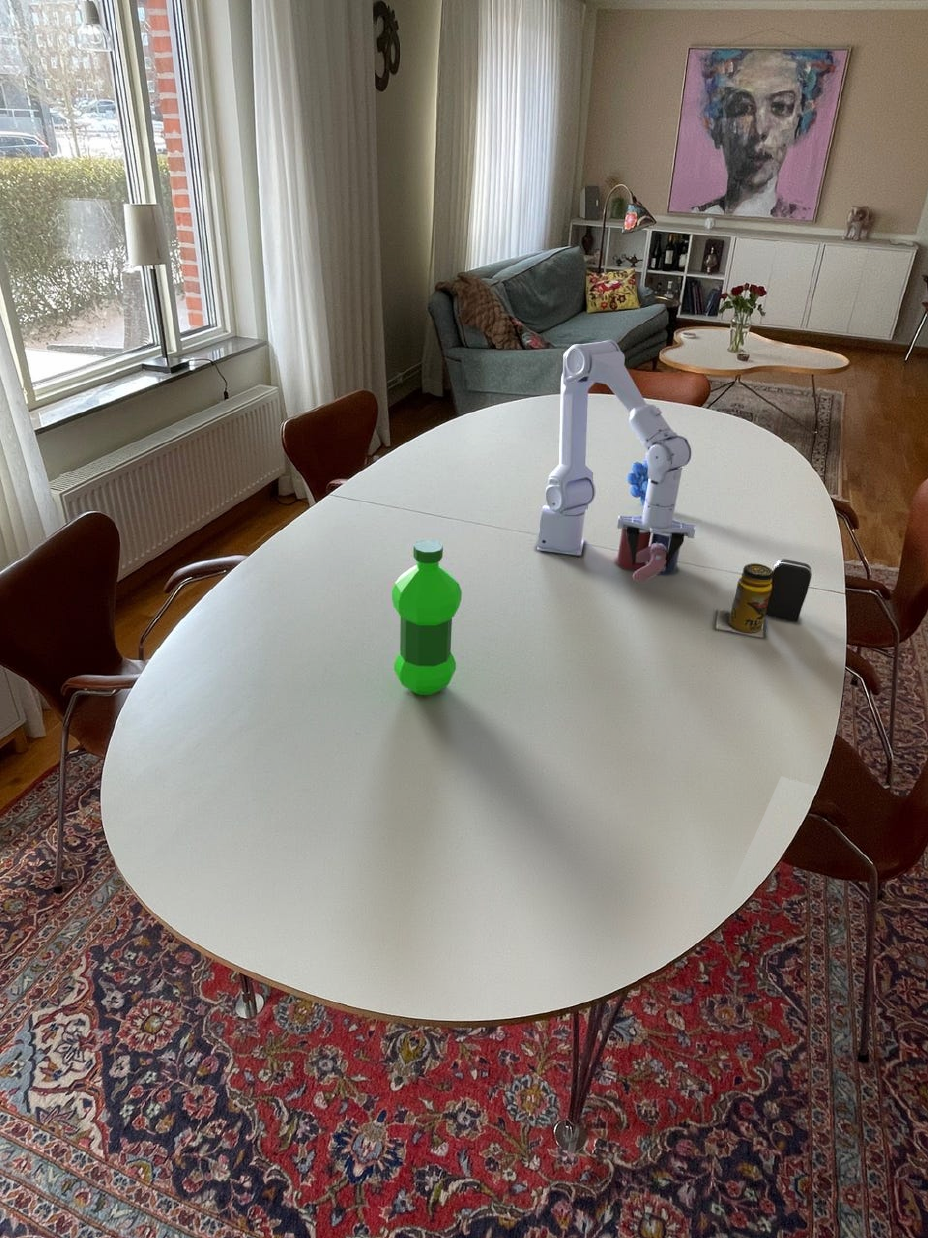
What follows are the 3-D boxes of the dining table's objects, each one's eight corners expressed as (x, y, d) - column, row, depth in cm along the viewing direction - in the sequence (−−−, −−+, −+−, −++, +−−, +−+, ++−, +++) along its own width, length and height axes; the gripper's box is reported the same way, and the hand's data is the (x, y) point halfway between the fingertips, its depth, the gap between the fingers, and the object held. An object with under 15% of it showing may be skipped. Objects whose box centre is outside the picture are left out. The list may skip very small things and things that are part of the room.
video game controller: (650, 591, 161) (672, 564, 158) (630, 579, 161) (652, 551, 157) (650, 568, 170) (671, 543, 166) (632, 557, 169) (652, 531, 166)
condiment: (762, 638, 153) (778, 580, 147) (715, 629, 155) (729, 572, 149) (763, 619, 159) (777, 563, 153) (717, 611, 161) (730, 555, 155)
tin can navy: (646, 572, 174) (653, 534, 170) (647, 559, 179) (654, 522, 175) (675, 576, 173) (683, 537, 169) (675, 563, 178) (683, 526, 174)
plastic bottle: (434, 712, 129) (439, 568, 116) (379, 689, 133) (378, 548, 121) (468, 682, 136) (476, 543, 124) (415, 661, 141) (418, 525, 128)
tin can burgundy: (616, 567, 175) (621, 530, 171) (617, 555, 180) (623, 518, 176) (644, 571, 174) (651, 533, 170) (645, 559, 179) (652, 522, 175)
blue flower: (619, 507, 204) (626, 461, 198) (625, 498, 210) (632, 452, 203) (666, 516, 201) (675, 469, 194) (671, 507, 206) (680, 460, 200)
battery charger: (799, 615, 161) (814, 562, 155) (798, 624, 158) (814, 570, 152) (762, 606, 163) (776, 554, 158) (760, 615, 160) (774, 562, 155)
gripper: (620, 503, 155) (610, 568, 162) (700, 513, 153) (686, 579, 160) (622, 490, 161) (613, 553, 168) (699, 499, 159) (686, 563, 166)
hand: (649, 565), depth 164 cm, fingers closed on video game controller, 5 cm apart
